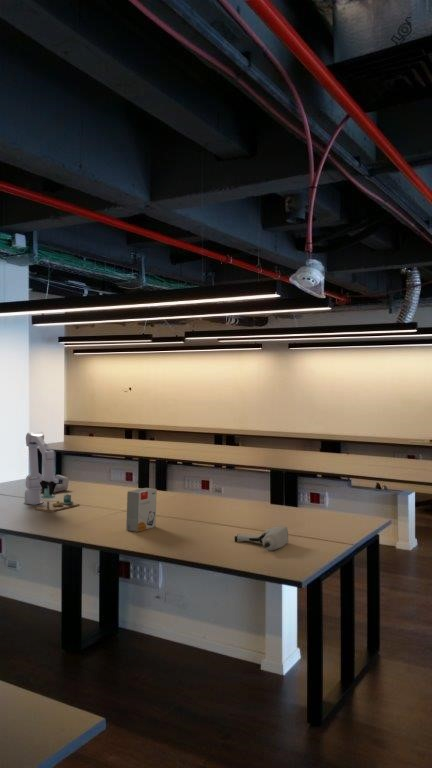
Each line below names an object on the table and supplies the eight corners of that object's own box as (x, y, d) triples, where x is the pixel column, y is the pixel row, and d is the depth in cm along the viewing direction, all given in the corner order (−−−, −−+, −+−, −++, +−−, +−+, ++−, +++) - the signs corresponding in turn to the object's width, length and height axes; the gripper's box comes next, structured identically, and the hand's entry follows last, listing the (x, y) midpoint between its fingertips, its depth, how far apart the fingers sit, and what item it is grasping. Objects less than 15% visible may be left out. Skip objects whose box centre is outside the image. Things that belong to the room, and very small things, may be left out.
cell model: (71, 475, 402) (48, 479, 385) (71, 490, 402) (48, 495, 386) (58, 473, 409) (35, 477, 393) (58, 488, 409) (35, 493, 393)
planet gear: (38, 497, 337) (38, 488, 337) (48, 495, 344) (48, 487, 344) (47, 499, 333) (47, 490, 333) (57, 497, 340) (57, 488, 340)
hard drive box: (137, 532, 289) (137, 493, 289) (125, 530, 293) (126, 491, 293) (156, 526, 302) (156, 488, 302) (145, 524, 306) (145, 487, 306)
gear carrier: (51, 512, 332) (51, 500, 332) (35, 509, 339) (35, 498, 339) (79, 505, 352) (79, 494, 352) (63, 503, 359) (64, 492, 359)
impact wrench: (221, 542, 263) (272, 535, 253) (239, 531, 284) (287, 524, 274) (225, 560, 262) (276, 554, 253) (242, 548, 283) (290, 541, 273)
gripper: (34, 470, 339) (34, 493, 339) (52, 472, 332) (52, 496, 332) (43, 469, 345) (43, 492, 345) (61, 471, 338) (61, 494, 338)
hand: (48, 494), depth 339 cm, fingers closed on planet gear, 4 cm apart
